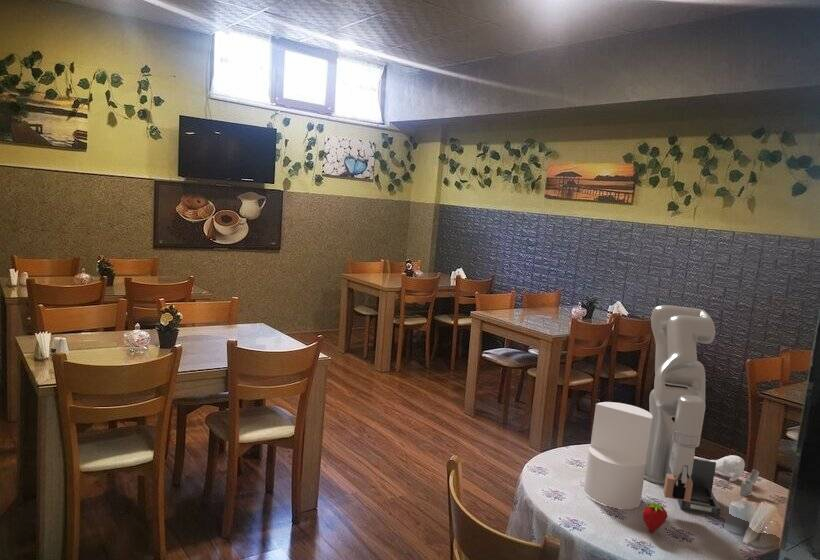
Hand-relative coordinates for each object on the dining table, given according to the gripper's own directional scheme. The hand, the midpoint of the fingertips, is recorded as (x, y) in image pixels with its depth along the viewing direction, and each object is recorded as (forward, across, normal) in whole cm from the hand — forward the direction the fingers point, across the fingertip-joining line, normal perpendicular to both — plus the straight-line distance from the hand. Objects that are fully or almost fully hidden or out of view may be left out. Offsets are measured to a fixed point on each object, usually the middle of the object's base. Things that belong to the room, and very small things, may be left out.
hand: (677, 494), depth 184 cm
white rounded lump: (+8, -39, +22) cm, 46 cm away
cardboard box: (+1, 0, 0) cm, 1 cm away
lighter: (+7, -27, +27) cm, 39 cm away
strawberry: (+6, +15, -8) cm, 18 cm away
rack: (+7, -11, +8) cm, 15 cm away
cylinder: (+7, -4, -18) cm, 20 cm away
